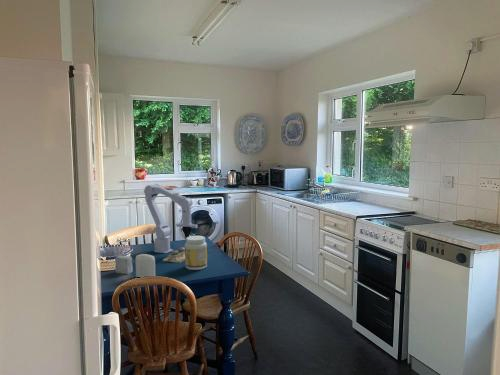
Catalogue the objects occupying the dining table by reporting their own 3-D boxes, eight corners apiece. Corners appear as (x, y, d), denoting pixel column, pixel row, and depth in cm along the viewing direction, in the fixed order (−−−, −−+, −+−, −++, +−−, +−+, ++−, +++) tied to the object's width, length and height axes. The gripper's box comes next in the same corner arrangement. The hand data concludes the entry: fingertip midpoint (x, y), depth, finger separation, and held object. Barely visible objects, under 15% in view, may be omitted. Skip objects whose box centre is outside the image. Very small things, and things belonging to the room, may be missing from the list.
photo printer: (156, 276, 198) (155, 253, 197) (153, 279, 194) (152, 256, 193) (139, 275, 201) (137, 252, 199) (134, 278, 196) (133, 255, 195)
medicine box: (133, 271, 206) (132, 256, 205) (127, 274, 202) (127, 258, 201) (120, 270, 209) (120, 255, 208) (115, 273, 205) (114, 257, 204)
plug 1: (169, 258, 226) (169, 251, 225) (174, 256, 230) (173, 249, 229) (176, 259, 224) (175, 252, 223) (180, 257, 228) (180, 250, 227)
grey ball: (176, 255, 232) (176, 248, 231) (180, 253, 236) (180, 246, 235) (182, 256, 230) (182, 249, 230) (186, 254, 234) (186, 247, 234)
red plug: (182, 251, 238) (182, 245, 238) (186, 249, 242) (186, 243, 242) (188, 252, 237) (188, 245, 236) (192, 250, 241) (192, 244, 240)
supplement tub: (181, 266, 214) (180, 237, 212) (200, 262, 222) (199, 234, 220) (192, 272, 204) (191, 241, 203) (211, 267, 212) (210, 238, 210)
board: (162, 260, 225) (162, 254, 225) (183, 251, 246) (183, 245, 245) (179, 262, 221) (179, 256, 220) (199, 252, 241) (199, 247, 240)
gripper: (173, 217, 236) (173, 238, 238) (193, 219, 230) (193, 241, 232) (179, 215, 243) (180, 236, 244) (199, 217, 237) (199, 238, 238)
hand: (187, 238), depth 238 cm, fingers closed
